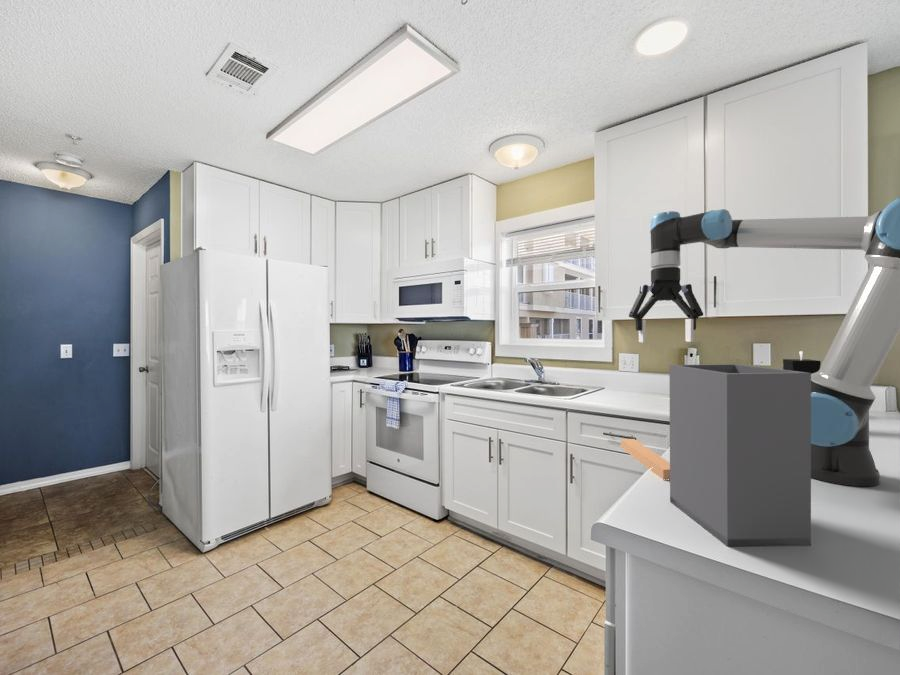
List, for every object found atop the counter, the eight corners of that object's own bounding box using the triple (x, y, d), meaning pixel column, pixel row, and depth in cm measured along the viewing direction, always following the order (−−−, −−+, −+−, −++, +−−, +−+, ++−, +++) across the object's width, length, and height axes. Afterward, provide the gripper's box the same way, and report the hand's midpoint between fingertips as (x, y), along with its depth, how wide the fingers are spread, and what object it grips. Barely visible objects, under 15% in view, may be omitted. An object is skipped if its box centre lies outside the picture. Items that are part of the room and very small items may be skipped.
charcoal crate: (736, 500, 87) (736, 364, 86) (810, 545, 69) (811, 372, 68) (670, 501, 87) (669, 365, 87) (727, 546, 69) (726, 374, 69)
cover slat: (620, 448, 127) (620, 438, 127) (634, 448, 127) (633, 438, 127) (663, 481, 99) (663, 469, 99) (680, 481, 99) (680, 469, 99)
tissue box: (809, 427, 148) (809, 350, 148) (820, 432, 141) (820, 351, 140) (782, 426, 151) (782, 350, 150) (792, 431, 143) (792, 351, 143)
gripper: (700, 269, 122) (701, 340, 122) (616, 270, 122) (617, 342, 122) (717, 265, 114) (717, 341, 115) (627, 266, 114) (628, 342, 115)
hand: (665, 342), depth 118 cm, fingers open, 13 cm apart
